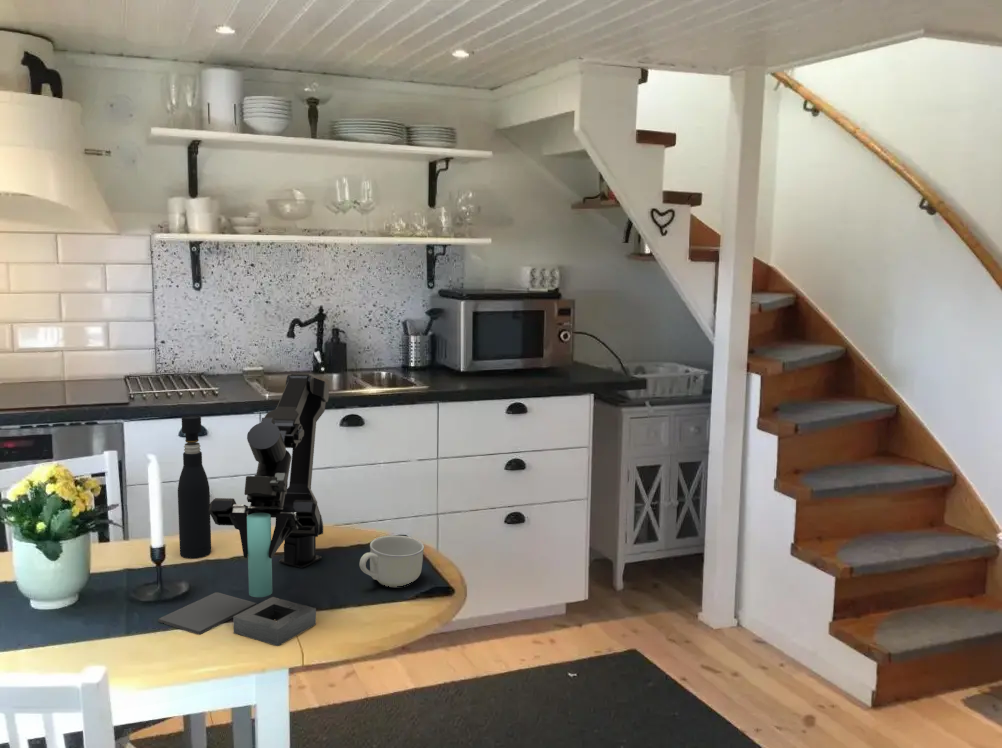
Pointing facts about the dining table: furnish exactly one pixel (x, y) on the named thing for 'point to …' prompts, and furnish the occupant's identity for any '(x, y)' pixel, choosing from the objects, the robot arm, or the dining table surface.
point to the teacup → (394, 560)
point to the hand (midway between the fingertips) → (257, 557)
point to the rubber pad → (206, 613)
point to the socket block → (265, 629)
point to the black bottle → (193, 495)
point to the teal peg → (259, 554)
